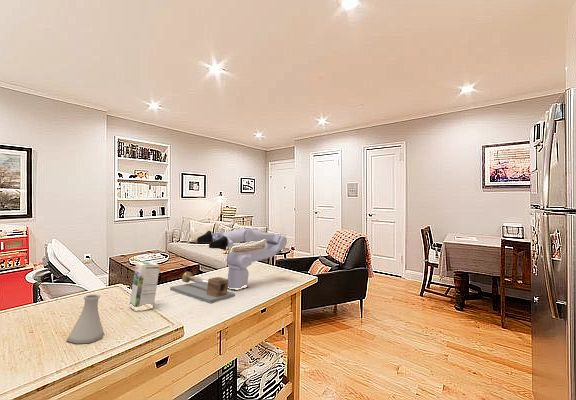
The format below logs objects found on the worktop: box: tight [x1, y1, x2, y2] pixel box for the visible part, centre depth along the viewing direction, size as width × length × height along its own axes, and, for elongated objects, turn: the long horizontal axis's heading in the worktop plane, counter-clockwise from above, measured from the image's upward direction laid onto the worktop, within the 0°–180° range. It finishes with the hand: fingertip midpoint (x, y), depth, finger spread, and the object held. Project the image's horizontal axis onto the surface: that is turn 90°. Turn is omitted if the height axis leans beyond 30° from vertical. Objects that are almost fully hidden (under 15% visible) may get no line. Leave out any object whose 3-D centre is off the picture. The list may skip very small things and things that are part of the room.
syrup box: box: [129, 260, 161, 307], centre depth 92 cm, size 6×6×14 cm
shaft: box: [181, 271, 208, 286], centre depth 117 cm, size 4×17×4 cm, turn 61°
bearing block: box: [207, 276, 229, 297], centre depth 112 cm, size 6×5×6 cm
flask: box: [66, 293, 105, 344], centre depth 69 cm, size 7×7×10 cm
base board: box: [169, 282, 236, 304], centre depth 116 cm, size 14×22×1 cm, turn 61°
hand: (203, 242), depth 114 cm, fingers open, 7 cm apart
